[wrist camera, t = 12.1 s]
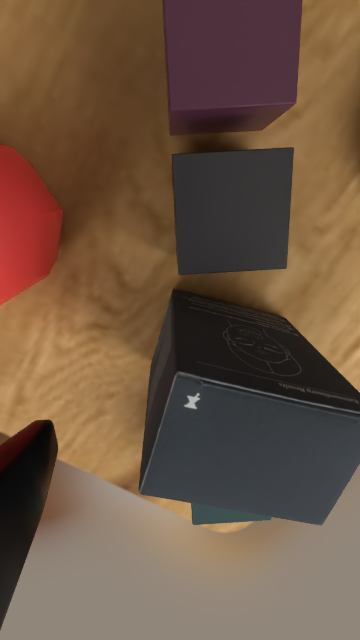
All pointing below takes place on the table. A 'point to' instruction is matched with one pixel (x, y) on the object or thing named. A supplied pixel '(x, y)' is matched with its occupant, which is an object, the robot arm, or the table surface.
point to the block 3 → (221, 515)
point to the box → (246, 414)
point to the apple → (25, 225)
